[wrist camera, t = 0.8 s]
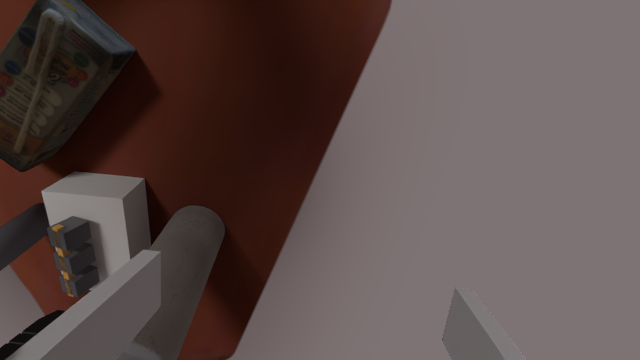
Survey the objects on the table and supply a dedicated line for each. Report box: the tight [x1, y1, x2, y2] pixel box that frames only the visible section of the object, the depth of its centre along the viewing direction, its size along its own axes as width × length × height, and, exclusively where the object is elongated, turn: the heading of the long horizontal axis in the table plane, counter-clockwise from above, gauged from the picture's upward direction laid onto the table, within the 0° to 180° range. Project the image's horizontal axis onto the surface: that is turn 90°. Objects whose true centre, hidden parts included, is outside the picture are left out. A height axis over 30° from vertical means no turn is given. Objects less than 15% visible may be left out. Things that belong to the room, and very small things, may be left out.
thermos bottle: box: [117, 206, 225, 360], centre depth 35 cm, size 8×8×28 cm
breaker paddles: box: [47, 216, 100, 297], centre depth 39 cm, size 10×2×3 cm, turn 172°
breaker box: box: [41, 171, 151, 290], centre depth 43 cm, size 15×9×6 cm, turn 172°
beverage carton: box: [0, 0, 136, 172], centre depth 35 cm, size 8×19×7 cm, turn 133°
